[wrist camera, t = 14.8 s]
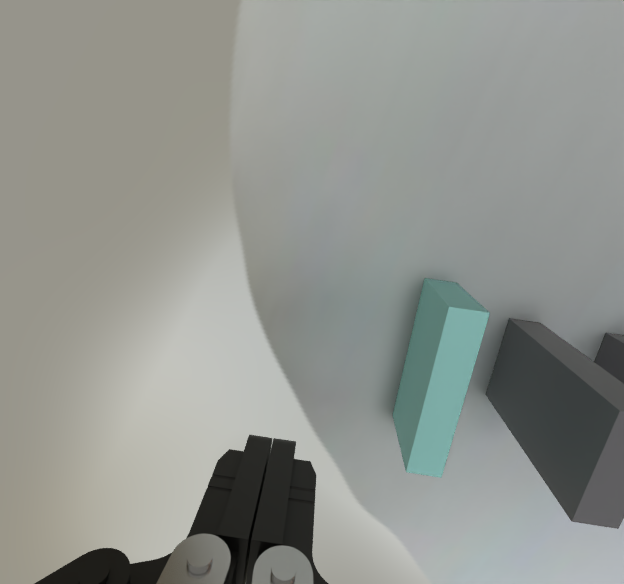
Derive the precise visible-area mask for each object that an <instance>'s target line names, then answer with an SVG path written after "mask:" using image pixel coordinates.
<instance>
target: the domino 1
mask: <svg viewBox="0 0 624 584" xmlns="http://www.w3.org/2000/svg"><path fill="white" fill-rule="evenodd" d="M489 314H490V313H489V312H488V311H487V310H486V309H485V308H484V307H483V306H482V305H481V304H480V303H478V302H477V301H476V300H475V299H474V298H473V297H472V296H471V295H470V294H468V293H467V292H466V291H465V290H464V289H463V288H462V287H461V286H460V285H459V284H457V283H454V282H448V281H441V280H434V279H428V278H425V279H424V283H423V288H422V292H421V296H420V300H419V305H418V309H417V313H416V317H415V322H414V326H413V330H412V334H411V339H410V343H409V347H408V352H407V356H406V360H405V364H404V369H403V373H402V377H401V381H400V386H399V390H398V394H397V398H396V403H395V407H394V411H393V419H394V423H395V427H396V431H397V436H398V440H399V444H400V448H401V453H402V457H403V461H404V465H405V470H406V472H409V473H415V474H421V475H428V476H434V477H440V478H441V477H442V474H443V470H444V467H445V463H446V460H447V457H448V453H449V450H450V446H451V443H452V440H453V436H454V433H455V430H456V426H457V423H458V419H459V416H460V413H461V409H462V406H463V402H464V399H465V396H466V392H467V389H468V385H469V382H470V379H471V375H472V372H473V369H474V365H475V362H476V358H477V355H478V352H479V348H480V345H481V341H482V338H483V335H484V331H485V328H486V324H487V321H488V318H489Z"/></svg>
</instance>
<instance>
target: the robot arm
mask: <svg viewBox="0 0 624 584" xmlns="http://www.w3.org/2000/svg"><path fill="white" fill-rule="evenodd" d="M271 444H272V438H268V437H261V436H254V435H249V437H248V440H247V443H246V446H245V450H244V452H243V451H237V450H230V449H229V450H228V451H227V452H226V453H225V454H224V455H223V456H222V457H221V458H220V459H219V460H218V462H217V464H216V467H215V469H214V472H213V475H212V477H211V479H210V482H209V485H208V488H207V490H206V492H205V495H204V497H203V500H202V502H201V505H200V507H199V510H198V512H197V515H196V517H195V520H194V522H193V525H192V527H191V530H190V533H189V534H188V536H187V538H186V539H185V540H183V541H182V542H181V543H180V544H179V545H178V546H177V547H176V548H175V549H174V551H173V552H172V553H170V554H168V555H167V556H165V557H162V558H159V559H156V560H151V561H145V562H139V563H134V564H130V563H129V560H128V558H127V557H126V555H125V554H124V553H122V552H121V551H119V550H117V549H112V548H102V549H97V550H93V551H91V552H88V553H86V554H84V555H82V556H81V557H79V558H77V559H75V560H74V561H72V562H70V563H69V564H67V565H65V566H63V567H62V568H60V569H58V570H57V571H55V572H53V573H52V574H50V575H48V576H47V577H45V578H43V579H42V580H40V581H38V582H37V583H35V584H328V583H327V582H326V581H325V580H324V579H323V578H322V577H321V576H320V574H319V573H318V571H317V569H316V568H315V565H314V563H313V557H312V543H313V525H314V506H315V505H314V503H315V487H316V474H315V471H314V469H313V467H312V465H311V462H310V461H303V460H297V459H294V453H295V446H296V442H295V441H288V440H281V439H275V438H274V439H273V444H272V448H271ZM270 452H271V453H270Z"/></svg>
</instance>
